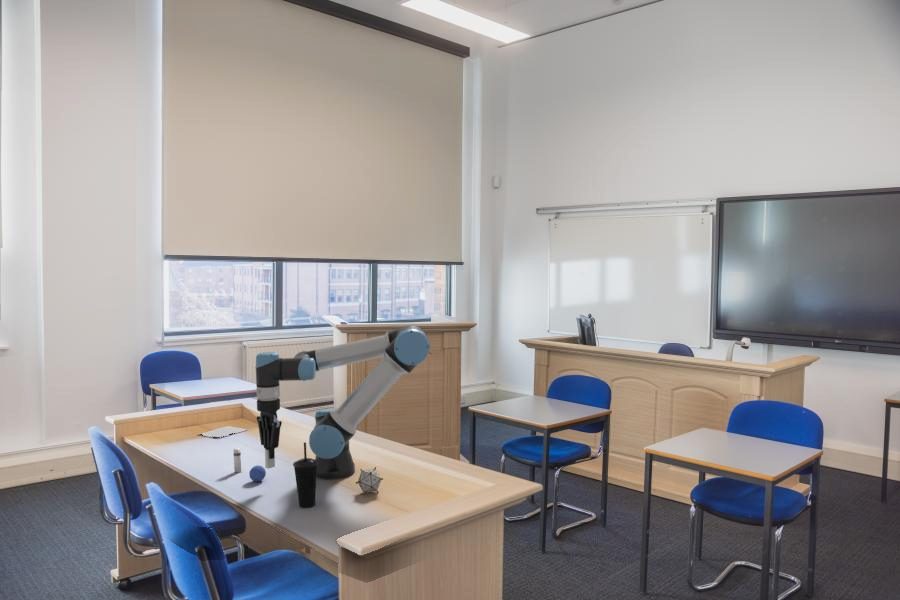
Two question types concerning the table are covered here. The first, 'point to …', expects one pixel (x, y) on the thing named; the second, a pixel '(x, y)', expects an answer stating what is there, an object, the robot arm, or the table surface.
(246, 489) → the table surface
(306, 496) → the drinking cup
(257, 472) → the ball
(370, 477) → the game die
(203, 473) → the table surface
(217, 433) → the paper stack
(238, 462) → the pin
